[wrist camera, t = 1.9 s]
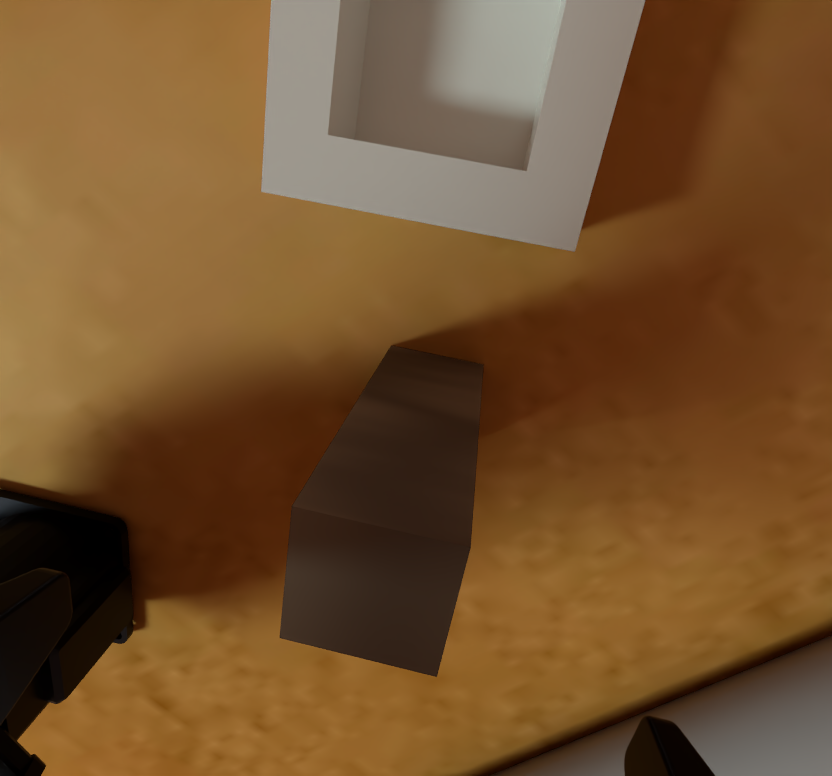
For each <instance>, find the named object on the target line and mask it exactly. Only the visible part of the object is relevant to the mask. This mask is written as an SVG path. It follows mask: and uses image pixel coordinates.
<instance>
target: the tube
mask: <svg viewBox="0 0 832 776" xmlns="http://www.w3.org/2000/svg"><path fill="white" fill-rule="evenodd" d="M646 715H650V716H654V717H658V718H662V719H666V720H670V721H672V722H674V723H675V724H676V725H677V726H678V727H679V728H680V729H681V731H682V732H683V733H684V735H685V736H686V737H687V739H688V740H689V741H690V743H691V744H692V745H693V747H694V748H695V749H696V751H697V752H698V753H699V755H700V756H701V757H702V759H703V760H704V761H705V762H706V764H707V765H708V766H709V768H710V769H711V770H712V772H713V773H714V774H715V776H832V635H831V636H829V637H826V638H824V639H821V640H819V641H817V642H814V643H812V644H809V645H807V646H804V647H802V648H799V649H797V650H795V651H792V652H790V653H787V654H785V655H782V656H780V657H778V658H775V659H773V660H770V661H768V662H765V663H763V664H761V665H758V666H756V667H753V668H751V669H748V670H746V671H743V672H741V673H739V674H736V675H734V676H731V677H729V678H726V679H724V680H722V681H719V682H717V683H714V684H712V685H709V686H707V687H705V688H702V689H700V690H697V691H695V692H692V693H690V694H687V695H685V696H683V697H680V698H678V699H675V700H673V701H670V702H668V703H666V704H663V705H661V706H658V707H656V708H653V709H651V710H649V711H646V712H644V713H641V714H639V715H636V716H634V717H631V718H629V719H627V720H624V721H622V722H619V723H617V724H614V725H612V726H610V727H607V728H605V729H602V730H600V731H597V732H595V733H593V734H590V735H588V736H585V737H583V738H580V739H578V740H576V741H573V742H571V743H568V744H566V745H563V746H561V747H558V748H556V749H554V750H551V751H549V752H546V753H544V754H541V755H539V756H537V757H534V758H532V759H529V760H527V761H524V762H522V763H520V764H517V765H515V766H512V767H510V768H507V769H505V770H502V771H500V772H498V773H495V774H493V775H490V776H625V772H624V758H625V752H626V749H627V747H628V745H629V743H630V741H631V739H632V737H633V735H634V733H635V731H636V729H637V727H638V724H639V722H640V721H641V719H642V718H643V717H644V716H646Z"/></svg>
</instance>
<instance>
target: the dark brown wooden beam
mask: <svg viewBox="0 0 832 776" xmlns="http://www.w3.org/2000/svg"><path fill="white" fill-rule="evenodd" d="M482 379H483V364H478V363H473V362H468V361H464V360H459V359H454V358H449V357H444V356H440V355H435V354H430V353H425V352H420V351H416V350H411V349H406V348H401V347H396V346H392V345H391V347H390V348H389V350H388V352H387V353H386V355H385V356H384V358H383V360H382V361H381V363H380V364H379V366H378V368H377V369H376V371H375V373H374V374H373V376H372V377H371V379H370V381H369V382H368V384H367V386H366V387H365V389H364V390H363V392H362V394H361V395H360V397H359V398H358V400H357V402H356V403H355V405H354V407H353V408H352V410H351V411H350V413H349V415H348V416H347V418H346V420H345V421H344V423H343V424H342V426H341V428H340V429H339V431H338V432H337V434H336V436H335V437H334V439H333V441H332V442H331V444H330V445H329V447H328V449H327V450H326V452H325V453H324V455H323V457H322V458H321V460H320V462H319V463H318V465H317V466H316V468H315V470H314V471H313V473H312V475H311V476H310V478H309V479H308V481H307V483H306V484H305V486H304V487H303V489H302V491H301V492H300V494H299V496H298V497H297V499H296V500H295V502H294V504H293V505H292V511H291V522H290V532H289V543H288V554H287V564H286V575H285V586H284V597H283V607H282V618H281V629H280V638H282V639H286V640H290V641H294V642H298V643H302V644H306V645H310V646H314V647H318V648H322V649H326V650H331V651H335V652H339V653H343V654H347V655H351V656H355V657H359V658H363V659H367V660H371V661H375V662H379V663H383V664H387V665H391V666H395V667H399V668H403V669H407V670H411V671H415V672H419V673H423V674H427V675H431V676H435V677H437V674H438V670H439V666H440V662H441V659H442V655H443V651H444V647H445V643H446V639H447V636H448V632H449V628H450V624H451V620H452V616H453V613H454V609H455V605H456V601H457V597H458V593H459V590H460V586H461V582H462V578H463V574H464V570H465V567H466V563H467V559H468V555H469V551H470V548H471V534H472V520H473V506H474V491H475V477H476V463H477V449H478V435H479V421H480V407H481V393H482Z"/></svg>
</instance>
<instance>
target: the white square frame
mask: <svg viewBox="0 0 832 776" xmlns="http://www.w3.org/2000/svg"><path fill="white" fill-rule="evenodd" d="M644 3H645V0H271V16H270V35H269V55H268V74H267V93H266V112H265V131H264V151H263V170H262V189H261V192H266V193H271V194H276V195H282V196H287V197H292V198H297V199H302V200H308V201H313V202H318V203H323V204H328V205H334V206H339V207H344V208H349V209H354V210H360V211H365V212H370V213H375V214H381V215H386V216H391V217H396V218H401V219H407V220H412V221H417V222H422V223H427V224H433V225H438V226H443V227H448V228H454V229H459V230H464V231H469V232H474V233H480V234H485V235H490V236H495V237H500V238H506V239H511V240H516V241H521V242H526V243H532V244H537V245H542V246H547V247H553V248H558V249H563V250H568V251H573V252H575V249H576V245H577V242H578V238H579V235H580V231H581V228H582V224H583V220H584V217H585V213H586V210H587V206H588V203H589V199H590V196H591V192H592V188H593V185H594V181H595V178H596V174H597V171H598V167H599V163H600V160H601V156H602V153H603V149H604V146H605V142H606V139H607V135H608V131H609V128H610V124H611V121H612V117H613V114H614V110H615V106H616V103H617V99H618V96H619V92H620V89H621V85H622V82H623V78H624V74H625V71H626V67H627V64H628V60H629V57H630V53H631V49H632V46H633V42H634V39H635V35H636V32H637V28H638V25H639V21H640V17H641V14H642V10H643V7H644Z"/></svg>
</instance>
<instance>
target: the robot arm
mask: <svg viewBox="0 0 832 776" xmlns="http://www.w3.org/2000/svg"><path fill="white" fill-rule="evenodd" d="M132 618H133V603H132V584H131V573H130V564H129V545H128V529H127V525H126V524H125V523H124V521H122V520H121V519H120V518H117V517H115V516H110V515H106V514H102V513H98V512H94V511H89V510H85V509H81V508H77V507H73V506H68V505H64V504H60V503H56V502H52V501H47V500H43V499H39V498H35V497H30V496H26V495H22V494H18V493H14V492H9V491H5V490H1V489H0V776H41V774H42V772H43V771H44V769H45V767H46V765H45V763H44V762H43V761H42V760H41V759H40V758H39V757H38V756H37V755H36V754H33V755H30V754H29V753H28V752H27V751H26V750H25V749H24V748H23V747H22V746H21V745H20V744H19V743H18V742H17V740H18V739H19V737H20V736H21V735H22V734H23V733H24V732H25V730H26V729H27V728H28V727H29V726H30V725H31V723H32V722H33V721H34V720H35V719H36V717H37V716H38V715H39V714H40V713H41V712H42V710H43V709H44V708H45V707H46V706H47V704H48V703H49V702H51V703H54V704H58V703H60V702H62V701H63V700H65V699H66V698H67V697H68V696H69V695H70V694H71V693H72V691H73V690H74V689H75V688H76V686H77V685H78V684H79V683H80V682H81V680H82V679H83V678H84V677H85V675H86V674H87V673H88V672H89V671H90V669H91V668H92V667H93V666H94V665H95V663H96V662H97V661H98V660H99V658H100V657H101V656H102V655H103V654H104V652H105V651H106V650H107V649H108V647H109V646H110V645H111V644H112V643H118V644H122V643H125V642H126V641H127V640H128V638H129V637H130V636H131V635H132V633H133V620H132ZM624 772H625V776H715V774H714V773H713V772H712V770H711V769H710V768H709V766H708V765H707V764H706V762H705V761H704V760H703V759H702V757H701V756H700V755H699V753H698V752H697V751H696V749H695V748H694V747H693V745H692V744H691V743H690V741H689V740H688V739H687V737H686V736H685V735H684V733H683V732H682V731H681V729H680V728H679V727H678V726H677V725H676V724H675V723H674V722H672V721H670V720H666V719H662V718H658V717H654V716H650V715H646V716H644V717H643V718H642V719H641V721H640V722H639V724H638V727H637V729H636V731H635V733H634V735H633V737H632V739H631V741H630V743H629V745H628V747H627V749H626V752H625V758H624Z"/></svg>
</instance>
